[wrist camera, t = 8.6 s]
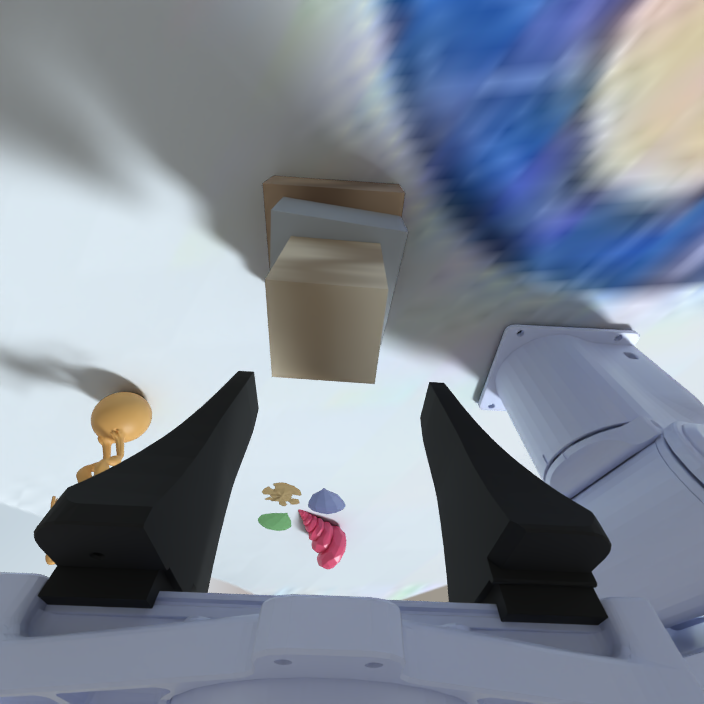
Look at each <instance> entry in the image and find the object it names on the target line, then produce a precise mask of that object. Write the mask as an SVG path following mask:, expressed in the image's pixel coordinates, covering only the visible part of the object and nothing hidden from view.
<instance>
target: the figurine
mask: <svg viewBox="0 0 704 704" xmlns="http://www.w3.org/2000/svg"><path fill="white" fill-rule="evenodd" d="M151 419H152V411H151V407H150V405H149V403H148V402H147V401H146V400H145V399H144V398H143V397H141V396H140V395H138V394H135V393H131V392H118V393H114V394H111V395H109V396H107V397H105V398H104V399H102V400H101V401H100V402H99V403H98V404H97V405H96V406H95V408H94V410H93V412H92V415H91V425H92V428H93V430H94V432H95V433H96V435H97V436H98V441H99V443H100V444H101V445H102V447H103V459H102V460H101V461H99V462H97V463H94V464H91V465H87V466H84V467H83V468H81V469H80V470H79V471H78V472H77V474H76V477H77V480H78V483H80V482H82V481H84V480H86V479H88V478H90V477H92V475H91V472H94V476H95V475H97V474H99V473H101V472H103V471H105V470H107V469H109V465H111V466H115V465H117V464H119V463H121V459H122V458H123V456H124V443H126V442H129V441H132V440H134V439H136V438H138V437H140V436H141V435H142V434H143V433H144V432H145V431H146V430H147V428H148V427H149V425H150V423H151ZM113 443H116V452H117V456H112V457H111V445H112V444H113ZM57 499H58V498H57ZM57 499H56V501H57ZM56 501H55V496H53V497H52V502H51V508H52V507H53V505H54V504H55V503H56ZM46 562H47V564H49V565H53V564H55V563H54V562H53V561H52V560H51V559H50V557H49V556H48V555H47V554H46Z"/></svg>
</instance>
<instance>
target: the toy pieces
mask: <svg viewBox="0 0 704 704" xmlns="http://www.w3.org/2000/svg"><path fill="white" fill-rule="evenodd" d="M274 486H275V489H274V490H273V489H271V488H270V487H267V488H265V489H264V490H263V491H262V493H263V494H270V496H271V497H272V498H271V497H268V498H266V499H265V500H271V501H279V504H280V505H282V506H286V505H287V504H286V502H285V501H288V502H290V503H291V504H298V503H300V502H299V500H298V499H291V498H292V497H291V496H292V494H294V495H299V496H300V495H301V492H300V490H299V489H297V488H295V486H292V485H289V484H287V483H274ZM308 507H309V508H310V509H311V510H313V511H316V512H319V513H324V514H331V513H336V512H338V511H341V510H343V508H344V507H345V503H344V501H343V500H342V499H341V498H340V497H339V496H338V494H335V493H333V492H330V491H328V490H326V489H324V488H323V489H322V490H321V491H319V492H317V493H315V494H313V495H312V497H311V499H310V500H309V504H308ZM298 512H299V514H300V517H302V518H301V519H302V520H303V524H304V525H305V529H306V531H307V532H308V533H309V539H310V540H313V541H312V549H313V550H315V551H316V552H317V553H319V554H318V556H317V561H318V564H319V566H321V567H323V568H325V569H331V568H333V567H334V566H335V565H336V564H337V563H339V562H340V560H341V558H342V556H343V554H344V552H345V548H346V536H345V533H344V532H343V531H342V530H341V529H340V527H338V526H332V525H331V524H330V523H329V522H326V521H324V522H323V520H322V519H321V518H317V517H316V516H315V515H312V514H310V513H308V512H306V511H303V510H298ZM258 521H259V523H260V524H261V525H262V526H263V527H265V528H267V529H271V530H277V531H280V530H286V529H288V528H290V527H291V520H290V518H289V517H288V515H287V513H271V514H264V515H261V516H260V517H259V518H258Z"/></svg>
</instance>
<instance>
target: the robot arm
mask: <svg viewBox="0 0 704 704" xmlns="http://www.w3.org/2000/svg"><path fill="white" fill-rule="evenodd" d="M521 330H522V332H521V333H519V334H517V332H518V331H521ZM618 335H619V336H618ZM616 336H618V337H616ZM615 337H616V338H615ZM639 337H640V335H639V334H638V333H637V332H636V331H633V330H614V329H594V328H574V327H554V326H534V325H510V326H508V327H507V328H506V329H505V331H504V333H503V336H502V339H501V342H500V344H499V347H498V350H497V353H496V355H495V358H494V361H493V364H492V366H491V369H490V372H489V375H488V377H487V380H486V383H485V386H484V388H483V391H482V394H481V397H480V399H479V402H478V405H479V408H480V409H482V410H497V411H507V412H508V414H509V416H510V418H511V420H512V422H513V424H514V426H515V428H516V430H517V432H518V434H519V436H520V438H521V440H522V442H523V444H524V445H525V447H526V449H527V451H528V453H529V455H530V457H531V459H532V461H533V463H534V465H535V467H536V469H537V471H538V473H539V475H540V477H541V479H542V480H543V481H542V480H541V479H539V478H538V477H537V476H535V475H534V474H533V473H531V472H530V471H529V470H527V469H526V468H525V467H524V466H522V465H521V464H520V463H518V462H517V461H516V460H515V459H514V458H512V457H511V456H510V455H509V454H508V453H507V452H506V451H505V450H503V449H502V448H501V447H500V446H499V445H498V444H497V443H496V442H495V441H494V440H493V439H492V438H491V437H490V436H489V435H488V434H487V433H486V432H485V431H484V430H483V429H482V428H481V427H480V426H479V425H478V424H477V423H476V421H475V420H474V419H473V418H472V417H471V416H470V414H469V413H468V412H467V411H466V410H465V409H464V407H463V406H462V405H461V404H460V402H459V401H458V400H457V399H456V397H455V396H454V395H453V394H452V392H451V391H450V390H449V388H448V387H447V386H446V385H445V384H444V383H437V382H429V386H428V389H427V393H426V397H425V401H424V405H423V409H422V413H421V417H420V419H421V428H422V436H423V442H424V446H425V450H426V455H427V459H428V463H429V467H430V470H431V474H432V478H433V482H434V486H435V491H436V496H437V501H438V508H439V515H440V522H441V530H442V537H443V545H444V554H445V564H446V573H447V584H448V596H449V602H428V601H402V600H385V599H379V598H372V597H350V596H324V595H299V594H291V595H278V596H274V595H248V594H222V593H220V594H219V593H208V588H209V583H210V578H211V573H212V569H213V564H214V560H215V555H216V551H217V546H218V542H219V537H220V533H221V529H222V525H223V521H224V517H225V513H226V509H227V506H228V502H229V498H230V494H231V490H232V487H233V484H234V481H235V478H236V476H237V473H238V470H239V468H240V465H241V462H242V460H243V457H244V454H245V452H246V449H247V446H248V444H249V441H250V438H251V436H252V433H253V430H254V426H255V422H256V418H257V413H258V409H259V408H258V400H257V392H256V385H255V377H254V372H247V371H238V372H237V373H236V374H235V375H234V376H233V377H232V378H231V379H230V380H229V381H228V382H227V383H226V384H225V385H224V386H223V387H222V388H221V389H220V390H219V391H218V392H217V393H216V394H215V395H214V396H213V397H212V398H211V399H209V400H208V401H207V402H206V403H205V404H204V405H203V406H202V407H201V408H200V409H198V410H197V411H196V412H195V413H194V414H193V415H191V416H190V417H189V418H188V419H187V420H185V421H184V422H183V423H182V424H180V425H179V426H178V427H176V428H175V429H174V430H172V431H171V432H170V433H168V434H167V435H165V436H164V437H162V438H161V439H159V440H158V441H156V442H155V443H153V444H151V445H150V446H148V447H147V448H145V449H143V450H142V451H140V452H139V453H137V454H135V455H133V456H132V457H130V458H128V459H126V460H124V461H123V462H121V463H119V464H117V465H115V466H113V467H111V468H109V469H107V470H105V471H103V472H101V473H99V474H97V475H95V476H93V477H90V478H88V479H86V480H84V481H82V482H80V483H77V484H75V485H73V486H71V487H68V488H67V489H66V490H65V492H64V493H63V494H62V495H61V496H60V498H59V499H58V500H57V501H56V503H55V504H54V505H53V507H52V508H51V509H50V510H49V512H48V513H47V514H46V516H45V517H44V518H43V520H42V521H41V522H40V524H39V525H38V526H37V528H36V529H35V531H34V538H35V541H36V543H37V544H38V545H39V547H40V548H41V549H42V550H43V551H44V552H45V553H46V554H47V555H48V556H49V557H50V559H51V560H52V561H53V562H54V563H55V564H56V565H57V567H56V569H55V570H54V572H53V573H52V575H51V576H50V578H49V577H47V576H44V575H41V574H33V573H7V572H0V704H704V616H703V615H704V406H703V404H702V403H701V402H700V401H699V400H698V399H697V398H696V397H695V396H694V395H693V394H692V393H690V392H689V391H688V390H687V389H685V388H684V387H683V386H682V385H681V384H679V383H678V382H677V381H676V380H675V379H673V378H672V377H671V376H670V375H668V374H667V373H666V372H665V371H664V370H662V369H661V368H660V367H659V366H658V365H656V364H655V363H654V362H653V361H652V360H650V359H649V358H648V357H647V356H645V355H644V354H643V353H642V352H641V351H639V350H638V349H637V348H636V347H635V344H636V343H637V341H638V339H639ZM490 404H492V405H490Z"/></svg>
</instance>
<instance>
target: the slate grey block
mask: <svg viewBox="0 0 704 704" xmlns="http://www.w3.org/2000/svg"><path fill="white" fill-rule="evenodd" d="M291 236H296V237H308V238H321V239H333V240H345V241H357V242H369V243H381V249H382V255H383V261H384V267H385V272H386V278H387V284H388V295H387V302H386V309H385V316H384V323H383V329H382V336H381V343H382V339H383V335H384V331H385V327H386V322H387V318H388V314H389V310H390V306H391V302H392V298H393V294H394V289H395V285H396V281H397V277H398V273H399V269H400V265H401V261H402V256H403V252H404V248H405V244H406V240H407V236H408V230H407V228H406V226H405V224H404V222H403V220H402V218H401V216H397V215H391V214H385V213H379V212H373V211H367V210H361V209H355V208H349V207H343V206H337V205H331V204H325V203H319V202H313V201H307V200H301V199H294V198H288V197H283V198H282V199H281V200H280V201H279V202H278V203H277V204H276V205H275V206H274V207H273V208H272V209H271V240H270V270H271V269H272V267H273V265H274V264H275V262H276V260H277V259H278V257H279V255H280V253H281V252H282V250H283V248H284V247H285V245H286V243H287V242H288V240H289V238H290V237H291ZM381 343H380V345H381Z"/></svg>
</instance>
